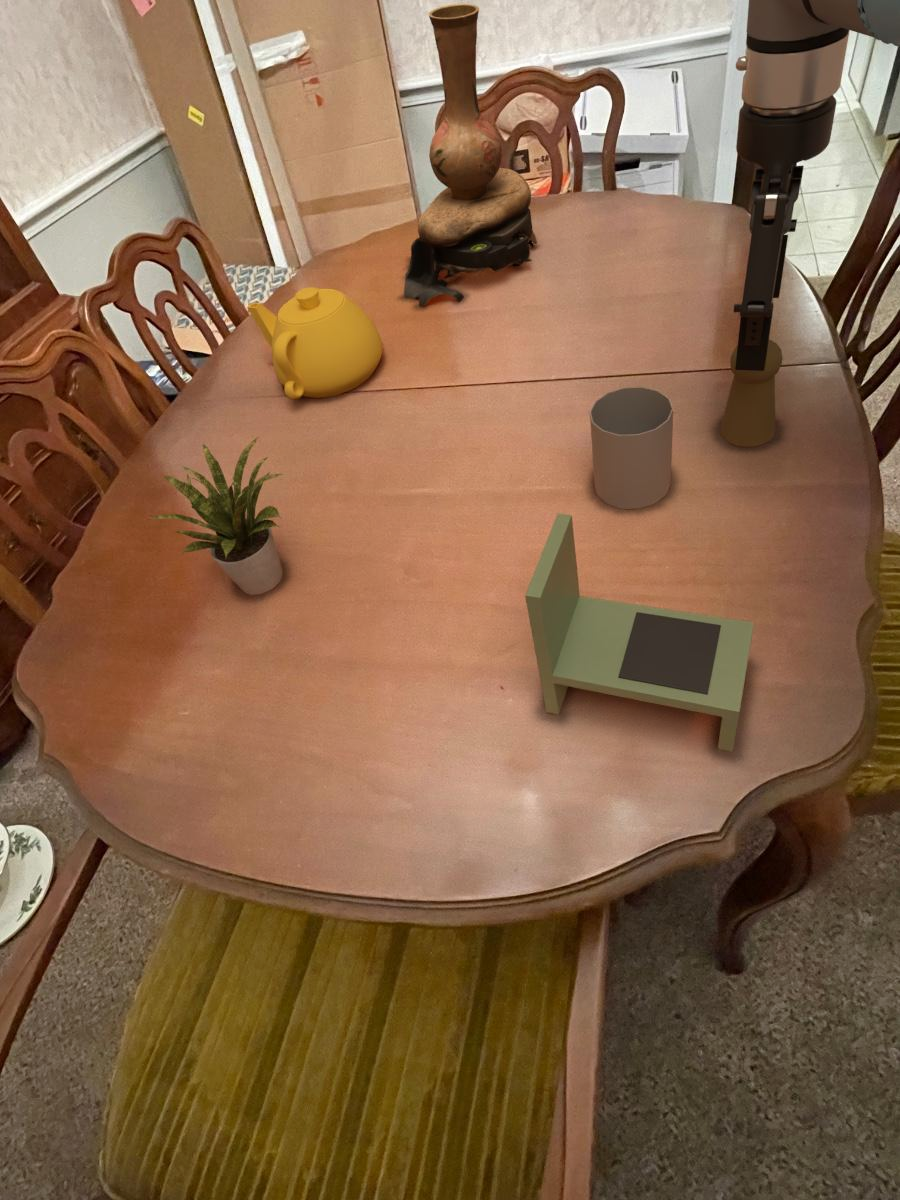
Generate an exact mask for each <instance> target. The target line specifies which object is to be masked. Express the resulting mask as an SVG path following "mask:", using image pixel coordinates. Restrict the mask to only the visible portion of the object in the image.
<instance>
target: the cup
mask: <svg viewBox="0 0 900 1200" xmlns="http://www.w3.org/2000/svg"><path fill="white" fill-rule="evenodd" d="M589 422H590V424H589V425H590V438H591V453H592V454H591V455H592V468H593V484H594V488H595V493H596V497H598V498H599V499H601V501H603V502H604V503H605V504H606V505H609V506H612V507H615V508H617V509H621V510H629V509H630V510H639V509H643V508H646V507H649V506H652V505H656V504H657V503H658V502H660V500H662V499H663V498H664V497H665V496H667V495H668V492H669V489H670V488H671V487H670V486H671V484H672V463H673V461H672V459H673V455H672V454H673V433H674V432H673V430H674V428H673V427H674V407H673V405H672V401H671V399H670V398H669V397H668V396H667V395H665V394H664V393H662V392H661V391H660V390H657V389H652V388H650V387H644V386H631V387H630V386H629V387H622V388H618V389H615V390H612V391H608V392H606V393H605V394H603V395H602V396H601V397H599V398H598V399H596V400H595V401H594V403H593V405H592V407H591V408H590V410H589Z"/></svg>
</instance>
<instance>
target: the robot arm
mask: <svg viewBox="0 0 900 1200" xmlns="http://www.w3.org/2000/svg"><path fill="white" fill-rule="evenodd" d="M746 21H747V23H746V37H745V38H746V40H745V49H744V50H745V52H744V53H745V55H744V56H740V57H738V58H737V60H736V63H735V69H736V70H737V71H739V72H742V71H745V73H744V75H743V76H742V83H741V96H740V97H741V100H742V101H743V102H744V104H743V105H741V108H740V109H739V112H738V123H737V132H736V133H737V135H736V145H735V146H736V147H735V149H736V153H737V156H738V157H739V158H740V159H741V160H743V162H746V163H749V164H751V165H753V164H755V165H758V166H760V167H757V168H756V170H755V178H754V179H753V181H752V186H751V192H750V198H751V199H750V201H751V203H752V204H751V212H750V218H749V224H748V225H749V232H750V234H751V236H750V243H749V249H748V250H749V251H748V257H747V266H746V273H745V279H744V286H743V294H742V299H741V300H742V301H741V303H738V304H737V303H734V304H733V313H739V316H740V321H739V330H738V339H737V346H738V347H737V346H736V347H737V357H736V366H735V370H751V371H764V369H765V363H766V356H767V349H768V342H769V340H770V336H771V335H770V334H771V327H772V319H773V313H774V305H775V304H774V302H773V300H774V299H779V298H780V294H781V288H782V280H783V275H784V267H785V261H786V253H787V246H788V239H789V234H788V233H795V232H796V230H797V229H796V228H797V223H798V219H797V218H795V219H794V218H793V213H794V207H795V203H796V202H797V201H798V200H799V195H800V189H801V185H802V180H803V173H804V165H798V163H800V162H802V161H803V162H806V161H809V160H811V159H813V158H816V157H817V156H819V155H820V154H821V153H823V152H825V150H826V149H827V148H828V146H829V144H830V142H831V138H832V133H833V132H832V131H833V125H834V120H835V115H836V110H837V109H836V108H837V99H836V98H835V96H834V95H835V94H836V93H837V92H838V91H839V89H840V88H841V83H842V77H843V71H844V65H845V59H846V54H847V50H848V49H847V48H848V42H849V36H850V31H851V32H855V33H858V34H861V35H865V36H867V37H870V38H874V39H875V40H877V41H881V42H882V43H883V44H886V45H889V44H892V45H893V46H894V47H900V0H748V9H747V20H746Z"/></svg>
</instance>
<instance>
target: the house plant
mask: <svg viewBox="0 0 900 1200" xmlns="http://www.w3.org/2000/svg"><path fill="white" fill-rule="evenodd" d="M260 436H261V435H260ZM260 436H257V437H255V438H254V439H253V440H252V441H251V442H249V444H247V446H246V447H245V448H244V449H243V450H242V452H241V453H240V455H239V456H238V460H237V463H236V465H235V468H234V474H233V481H232V483H231V485H230V486H229V487H228V484H227V480H226V478H225V475H224V472H223V470H222V467H221V465H220V463H219V461H218V460H217V458H216V457H215V456H214V455H213V454H212V453H211V451H210V449H209V447H208V446H206V444H204V442H203V444H202V448H203V454H204V457H205V461H206V463H207V465H208V468H209V470H210V473H211V476H212V479H213V482H214V485H215V486H214V485H213V483H212V482H211V481H209V480H208V478H206V476H204V475H203V474H201V473H200V472H197V471H196V470H194V469H192V468H190V467H187V466H184V465H181V464H179V466H180V467H181V468H182V469H184V470H186V471H187V472H188V473H190V474H191V475H193V476H194V477H196V478H194V477H190V475H189V474H188V473H186V480H187V481H186V482H184V481H183V480H179V479H177V478H176V477H173V476H170V475H169V476H168V475H162V477H163V478H164V479H165V480H166V481H167V482H168V483H170V484H171V485H172V486H173V487H174V488H175V489H176V490H178V492H180V493H181V494H182V495H183V496H184V497H185V498H187V499H188V500H189V502H190V505H191V506H190V507H191V509H193V510H194V511H195V512H196V513H197V515H198V516H199V517H200V518H201V519H202V520H203V521H201V520H199V519H197V518H194V517H191V516H189V515H183V514H178V513H168V514H159V515H155V516H154V517H151V518H149V519H147V520H148V521H150V520H159V519H165V520H167V519H168V520H169V519H170V520H177V521H182V522H187V523H190V524H194V525H197V526H200V527H203V528H204V529H205V528H206V529H208V530H211V531H213V532H215V534H212V533H209V532H200V531H194V530H184V529H183V530H175V531H173V532H174V533H177V534H178V535H186V536H187V537H190V538H192V539H195V540H196V541H192V542H191V543H188V544H187V546H185V548H184V549H183V551H182V552H181V554H183V553H192V552H196V551H201V550H207V549H209V555H210V557H211V558H212V559H213V560H214V561H215V563H216V564H217V565H218V566H220V568H221V569H222V570H223V571H224V572H225V573H226V575H228V577H229V578H230V579H231V580H232V581H233V582H234V583H235V584H236V586H237V587H238V588H239V589H240V590H241V591H242V592H243V593H245V594H247V595H250V596H258V595H262V594H264V593H267V592H269V591H271V590H273V589H274V588H276V587H277V585H279V583H280V582H281V580H282V578H283V573H284V570H283V566H282V563H281V560H280V556H279V553H278V549H277V546H276V542H275V539H274V535H273V531H272V529H271V528H275V527H277V528H280V526H279V525H278V524H277V523H276V522H274V520H272V519H271V518H280V519H282V517H281V516H280V515H281V514H280V513H279V510H278V508H276V507H275V506H273V505H269V506H266V507H264V508H262V510H260V511H259V512H258V514H257V515H256V508H257V503H258V499H259V495H260V492H261V490H262V487H263V485H264V482H266V481H268V480H271V479H275V478H277V477H278V478H279V476H282V475H285V474H284V473H272V474H271V471H268V473H267V474H264V476H261V477H260V478H258V479H257V476H258V474H259V471H260V469H261V466H262V465H263V464H264V463H265V462H266V460H267V459H268V457H265V458H263V459H261V460H260V461H259V462H258V463H257V464H256V465H255V467H254V468H253V469H252V472H251V475H250V477H249V480H248V485H246V486H244V487H243V489H242V481H243V475H244V471H245V467H246V464H247V462H248V458H249V455H250V452H251V450H252V448H253V447H254V446H255V445H256V443H257V441H258V439H259V438H260ZM191 479H192V480H195V481H197V482H199V483H201V485H203V486H204V487H205V489H206V491H207V493H208V497H206V496H205V495H204V494H203V493H202V492H201V491H200V490H198V489H197V488H196V487H195V486H193V485H192V481H191ZM256 479H257V480H256Z"/></svg>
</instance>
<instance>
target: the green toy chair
mask: <svg viewBox="0 0 900 1200" xmlns="http://www.w3.org/2000/svg"><path fill="white" fill-rule="evenodd" d="M524 597H525V603H526V608H527V614H528V620H529V624H530V630H531V636H532V642H533V646H534V653H535V659H536V664H537V669H538V675H539V681H540V685H541V690H542V695H543V703H544V707H545V712H546V713H549V714H554V715H560V712H561V709H562V707H563V703H564V700H565V697H566V693H567V691H568V687H570V688H576V689H580V690H585V691H590V692H595V693H600V694H606V695H610V696H616V697H619V698H620V697H621V698H626V699H630V700H636V701H641V702H645V703H646V702H647V703H651V704H657V705H661V706H665V707H670V708H676V709H680V710H681V709H682V710H686V711H691V712H696V713H701V714H706V715H712V716H716V717H721V721H720V730H719V736H718V743H717V744H718V745H717V750H722V751H725V752H730V753H733V752H734V748H735V742H736V736H737V730H738V725H739V718H740V712H741V706H742V702H743V701H742V699H743V695H744V688H745V682H746V676H747V675H746V674H747V671H748V670H747V669H748V663H749V657H750V652H751V651H750V650H751V645H752V640H753V639H752V638H753V633H754V627H755V622H754V621H749V620H748V621H747V620H740V619H734V618H727V617H721V616H713V615H709V614H701V613H694V612H687V611H681V610H675V609H669V608H661V607H656V606H648V605H642V604H636V603H629V602H623V601H616V600H609V599H603V598H595V597H589V596H583V595H580V584H579V574H578V565H577V554H576V545H575V533H574V524H573V515H572V514H567V513H566V514H565V513H556V517H555V519H554V522H553V525H552V527H551V529H550V532H549V534H548V536H547V539H546V541H545V544H544V547H543V549H542V551H541V554H540V556H539V559H538V562H537V564H536V567H535V570H534V572H533V575H532V577H531V579H530V581H529V584H528V586H527V589H526V591H525V594H524Z"/></svg>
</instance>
